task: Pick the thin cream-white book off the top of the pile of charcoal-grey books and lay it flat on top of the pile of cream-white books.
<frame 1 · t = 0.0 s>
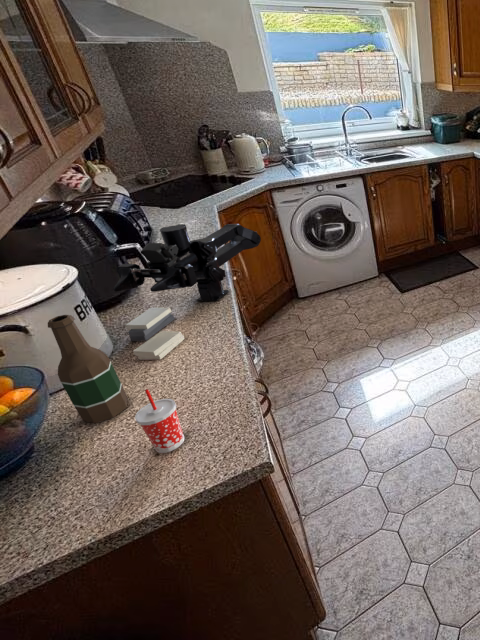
hand: (132, 290, 105), 17 cm above the kitchen counter, tool horizontal, fingers open, 9 cm apart
beverage cup: (170, 444, 83), on the kitchen counter
white pile: (162, 348, 110), on the kitchen counter
beer bottle: (107, 411, 90), on the kitchen counter
white book: (150, 320, 117), point 3 cm above the kitchen counter, touching grey pile
grey pile: (153, 329, 118), on the kitchen counter, touching white book
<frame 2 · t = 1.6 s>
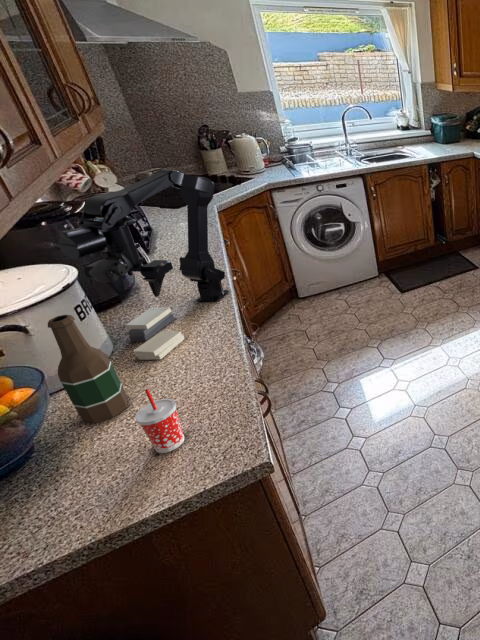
hand: (140, 296, 113), 11 cm above the kitchen counter, tool pointing down, fingers open, 9 cm apart
nothing on the kitchen counter moved.
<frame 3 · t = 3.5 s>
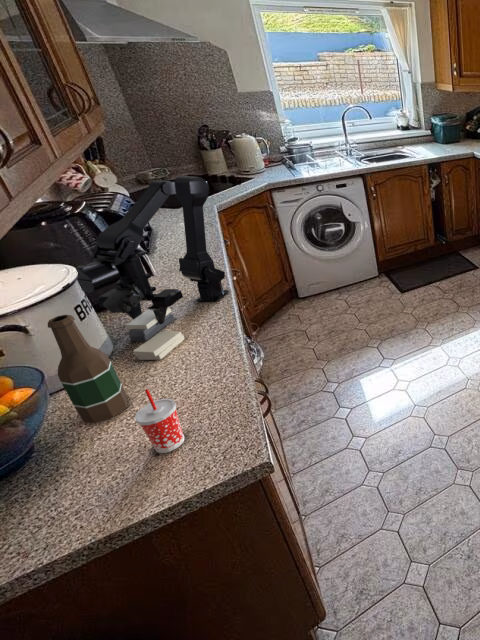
hand: (151, 323, 117), 2 cm above the kitchen counter, tool pointing down, fingers closed on white book, 5 cm apart
white book: (150, 320, 117), point 3 cm above the kitchen counter, touching grey pile, gripper
everything else where it was.
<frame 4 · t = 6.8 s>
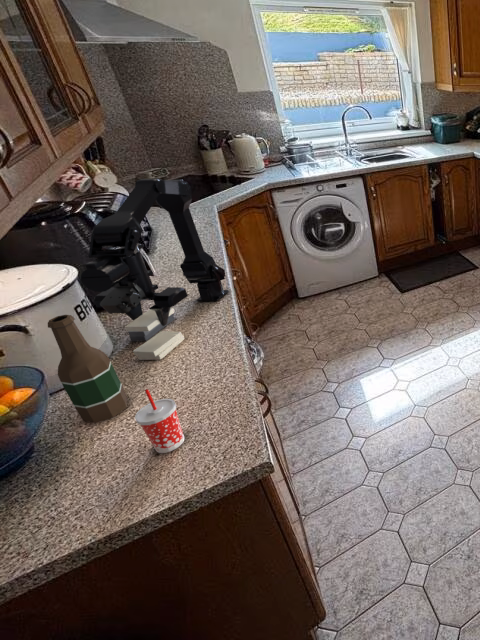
hand: (153, 325, 107), 8 cm above the kitchen counter, tool pointing down, fingers closed on white book, 5 cm apart
white book: (151, 321, 106), point 9 cm above the kitchen counter, touching gripper
grey pile: (153, 329, 118), on the kitchen counter
everything else where it was.
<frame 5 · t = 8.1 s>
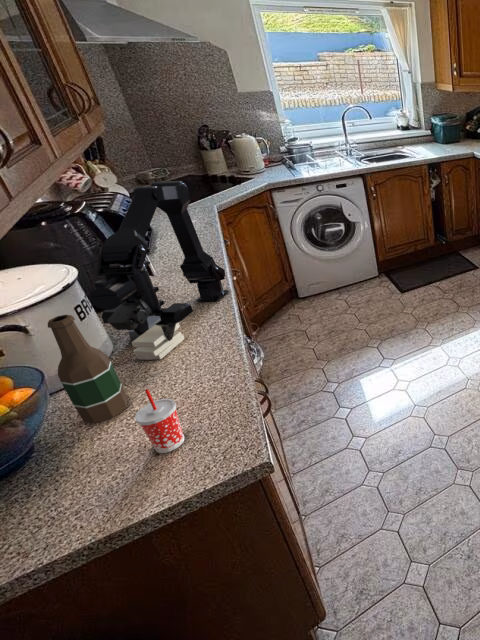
hand: (159, 340, 109), 3 cm above the kitchen counter, tool pointing down, fingers closed on white book, 5 cm apart
white book: (157, 336, 108), point 4 cm above the kitchen counter, touching gripper
everything else where it was.
when the fingers open (3 cm above the kitchen counter, at t = 10.4 s): white book drops 1 cm, resting on white pile.
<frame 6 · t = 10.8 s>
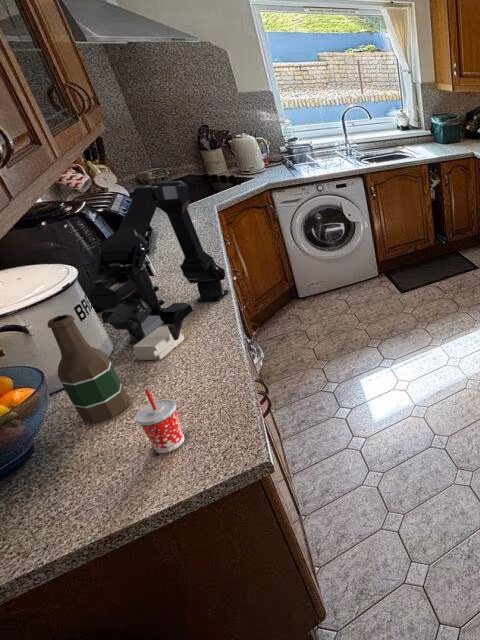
hand: (158, 339, 109), 3 cm above the kitchen counter, tool pointing down, fingers open, 9 cm apart
white pile: (162, 349, 110), on the kitchen counter, touching white book
white book: (159, 340, 109), point 3 cm above the kitchen counter, touching white pile
everything else where it was.
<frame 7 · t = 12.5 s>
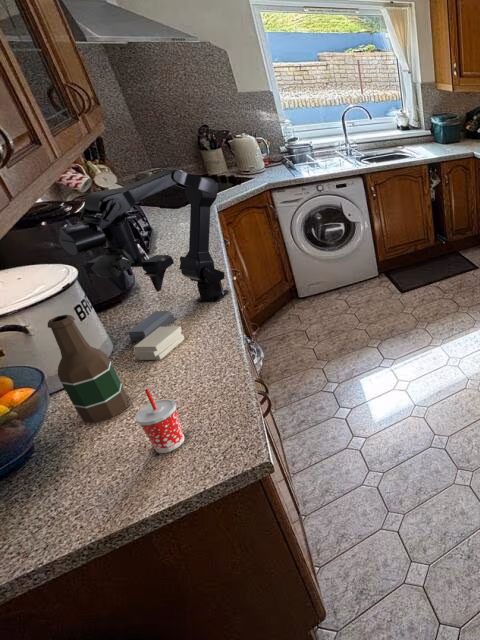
hand: (141, 291, 115), 12 cm above the kitchen counter, tool pointing down, fingers open, 9 cm apart
nothing on the kitchen counter moved.
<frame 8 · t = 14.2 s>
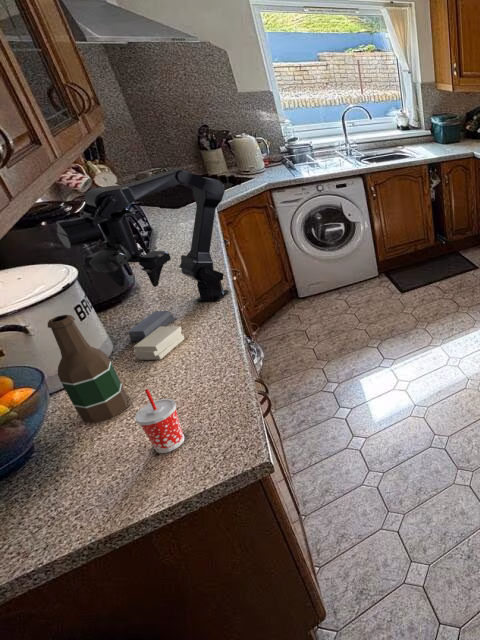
hand: (139, 286, 116), 12 cm above the kitchen counter, tool pointing down, fingers open, 9 cm apart
nothing on the kitchen counter moved.
at the end: white book 0.2 cm off-centre on the white pile, point 2.8 cm above the white pile's base; white book tilted 0°; the gripper is holding nothing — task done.
